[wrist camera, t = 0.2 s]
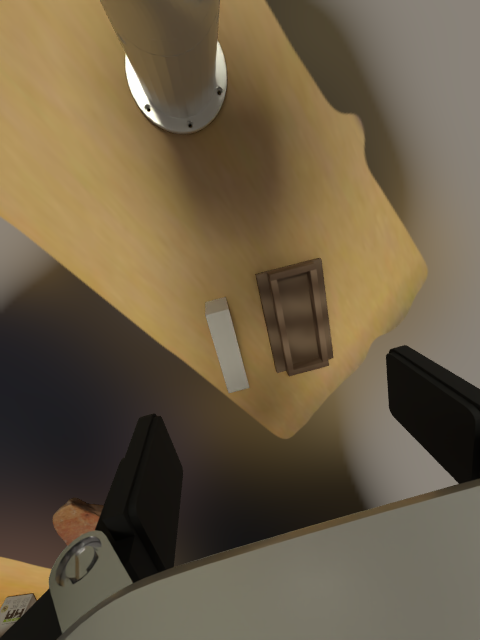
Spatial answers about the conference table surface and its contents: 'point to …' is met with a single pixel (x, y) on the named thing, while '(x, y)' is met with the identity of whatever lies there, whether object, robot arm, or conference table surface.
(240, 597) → the robot arm
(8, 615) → the coffee box
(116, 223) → the conference table surface
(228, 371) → the light grey block
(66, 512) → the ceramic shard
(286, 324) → the rack
